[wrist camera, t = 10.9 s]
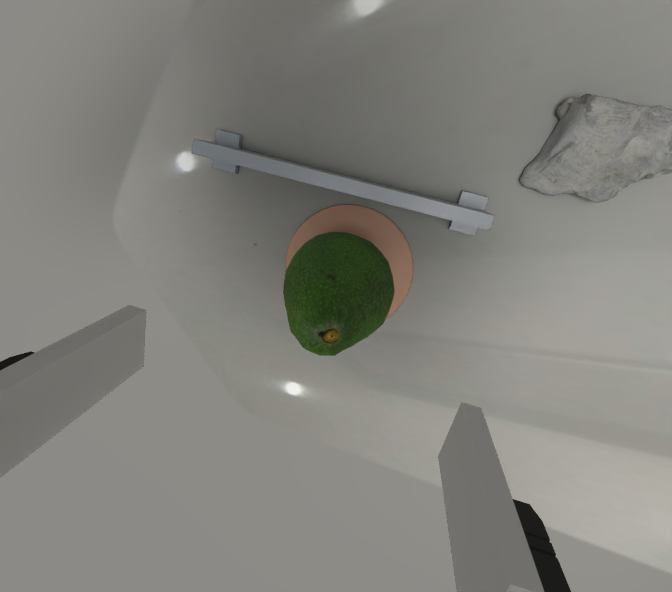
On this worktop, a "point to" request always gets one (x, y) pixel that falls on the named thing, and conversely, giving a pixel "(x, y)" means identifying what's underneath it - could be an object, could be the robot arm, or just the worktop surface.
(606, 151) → the stone
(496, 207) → the worktop surface
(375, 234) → the saucer
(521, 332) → the worktop surface
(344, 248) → the fruit
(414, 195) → the acrylic wall
